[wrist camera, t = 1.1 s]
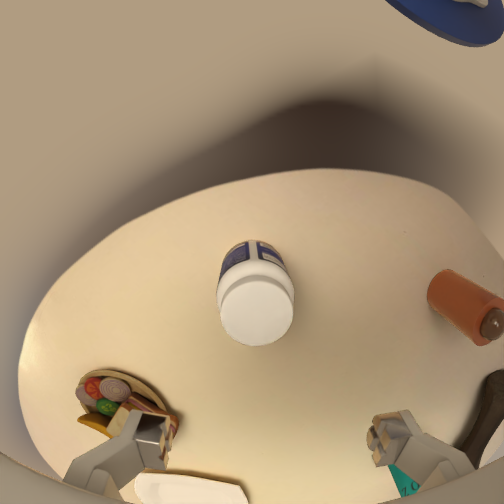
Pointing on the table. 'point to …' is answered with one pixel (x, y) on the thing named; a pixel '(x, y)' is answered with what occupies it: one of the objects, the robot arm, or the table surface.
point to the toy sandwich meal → (116, 401)
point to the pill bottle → (255, 294)
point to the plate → (185, 490)
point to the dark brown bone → (486, 419)
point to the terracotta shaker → (467, 306)
